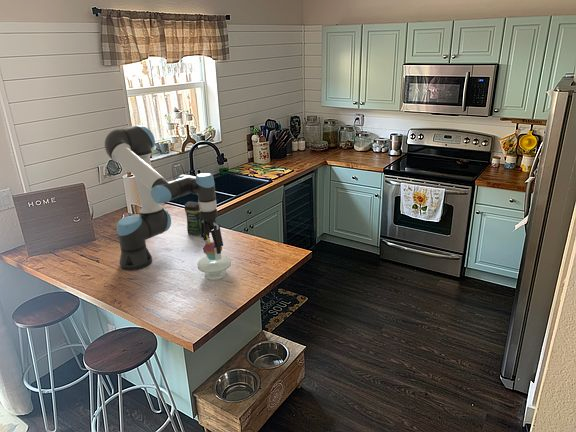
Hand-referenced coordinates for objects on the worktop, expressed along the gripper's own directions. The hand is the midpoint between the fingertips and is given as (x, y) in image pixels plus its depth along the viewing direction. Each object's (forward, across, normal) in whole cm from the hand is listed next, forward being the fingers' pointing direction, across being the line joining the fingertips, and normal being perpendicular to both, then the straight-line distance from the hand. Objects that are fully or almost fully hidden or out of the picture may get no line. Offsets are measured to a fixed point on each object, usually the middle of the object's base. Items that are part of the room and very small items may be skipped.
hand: (213, 256), depth 198 cm
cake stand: (+10, 0, 0) cm, 10 cm away
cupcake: (+1, 0, 0) cm, 1 cm away
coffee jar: (+10, +50, -17) cm, 54 cm away
